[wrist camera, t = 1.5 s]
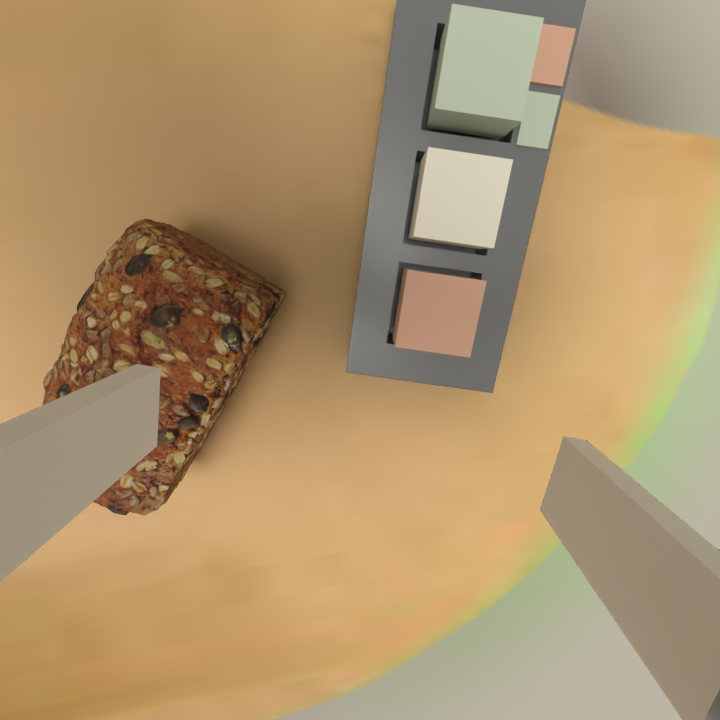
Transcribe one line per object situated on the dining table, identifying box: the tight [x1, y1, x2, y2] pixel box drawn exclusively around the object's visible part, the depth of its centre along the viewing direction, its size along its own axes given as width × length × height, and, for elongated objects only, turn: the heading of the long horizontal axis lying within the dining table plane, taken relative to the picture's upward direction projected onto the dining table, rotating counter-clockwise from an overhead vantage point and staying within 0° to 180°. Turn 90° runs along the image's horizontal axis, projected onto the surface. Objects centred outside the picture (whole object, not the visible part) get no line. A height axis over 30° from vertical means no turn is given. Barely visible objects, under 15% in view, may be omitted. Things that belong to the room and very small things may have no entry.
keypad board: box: [346, 0, 586, 393], centre depth 28 cm, size 25×11×4 cm, turn 172°
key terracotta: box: [392, 268, 487, 358], centre depth 27 cm, size 5×5×4 cm
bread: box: [42, 219, 285, 515], centre depth 29 cm, size 19×11×10 cm, turn 148°
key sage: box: [426, 4, 544, 139], centre depth 23 cm, size 5×5×4 cm
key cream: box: [408, 147, 513, 249], centre depth 25 cm, size 5×5×4 cm
